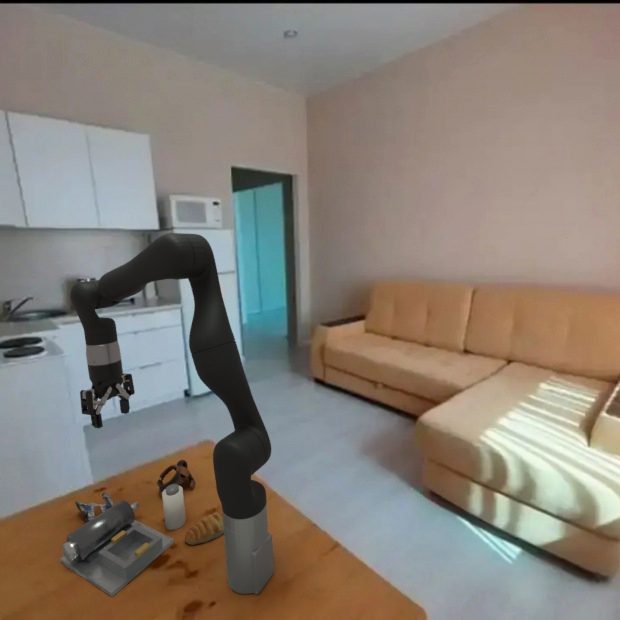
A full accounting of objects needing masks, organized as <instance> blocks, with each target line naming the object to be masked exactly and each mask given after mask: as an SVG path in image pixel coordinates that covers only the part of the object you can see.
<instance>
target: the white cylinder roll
mask: <svg viewBox="0 0 620 620" xmlns="http://www.w3.org/2000/svg"><path fill="white" fill-rule="evenodd" d="M161 496H162V498H161V499H162V507H163V516H164V525H165V528H166V529H167V530H169V531H171V530H172V531H175V530H177V529H180V528H181V527H183V526H184V525H185V524H186V521H187V520H186V510H185V509H186V508H185V499H184V489H183V487H182V486H181V485H180V484H171V485H169V486H167V487H166V489H165V490H164V491H163V492H162V493H161Z"/></svg>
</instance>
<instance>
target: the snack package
mask: <svg viewBox="0 0 620 620" xmlns="http://www.w3.org/2000/svg"><path fill="white" fill-rule="evenodd" d="M97 496H100V494H98V495H97ZM101 497H102V500H103V499H104V502H105V503H103V504H101V503H99V504H98V503H94V502H88V503H84V502H79V501H74V503H75V506H76V508H77V509H78V510H79V511H80V512H81V513H82V514H83V517H84V521H86V523H87V522H89V521H90V520H92V519H93V518H95V517H96V516H95V507H97V506H99V507H100V510H101V513H103V512H104V511H106V510H107V509H109V508H110V507H112V506H113V505H115V504H114V502H113V501H114V500H113V498H112V496H110V494H109V493H107V492H103V493H101Z"/></svg>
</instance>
